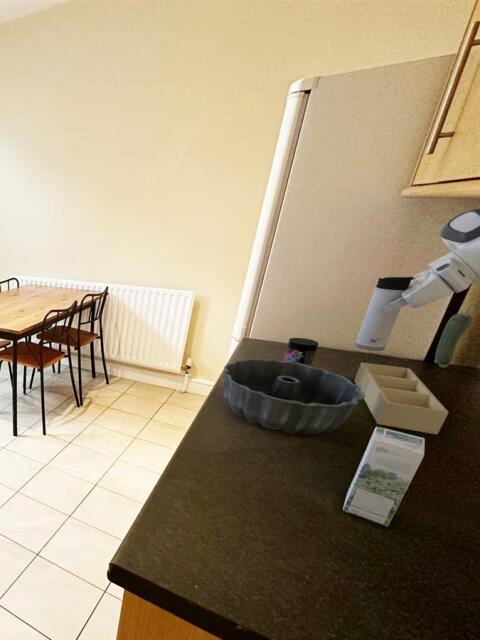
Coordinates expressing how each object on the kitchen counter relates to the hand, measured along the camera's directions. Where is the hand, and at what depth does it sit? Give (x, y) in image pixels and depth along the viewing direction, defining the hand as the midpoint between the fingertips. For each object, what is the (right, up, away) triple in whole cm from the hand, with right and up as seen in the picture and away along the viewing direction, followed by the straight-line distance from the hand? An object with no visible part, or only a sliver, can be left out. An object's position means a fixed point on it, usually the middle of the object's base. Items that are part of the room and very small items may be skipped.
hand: (381, 307), depth 112 cm
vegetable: (+29, -16, +12) cm, 35 cm away
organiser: (-7, -26, -9) cm, 28 cm away
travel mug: (+1, -11, +4) cm, 12 cm away
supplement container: (-17, -18, +9) cm, 27 cm away
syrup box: (-46, -42, -43) cm, 76 cm away
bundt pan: (-38, -29, -13) cm, 50 cm away
